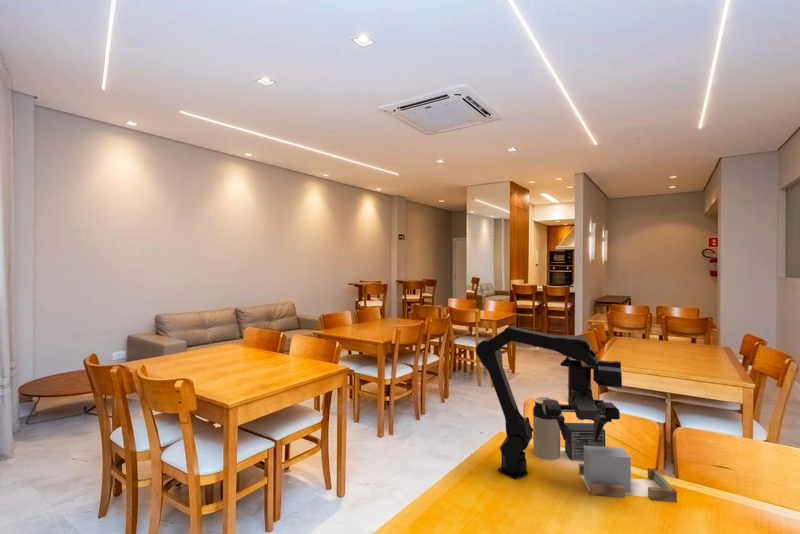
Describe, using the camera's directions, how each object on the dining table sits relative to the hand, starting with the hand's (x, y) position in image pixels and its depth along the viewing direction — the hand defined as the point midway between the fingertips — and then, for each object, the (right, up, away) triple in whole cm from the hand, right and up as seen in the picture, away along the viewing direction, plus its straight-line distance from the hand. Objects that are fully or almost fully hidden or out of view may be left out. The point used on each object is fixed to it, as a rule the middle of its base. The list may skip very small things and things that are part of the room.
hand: (579, 440), depth 113 cm
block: (+7, -11, -1) cm, 13 cm away
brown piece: (+11, -12, -2) cm, 17 cm away
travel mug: (-3, -13, +18) cm, 22 cm away
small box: (+8, -13, +16) cm, 22 cm away
